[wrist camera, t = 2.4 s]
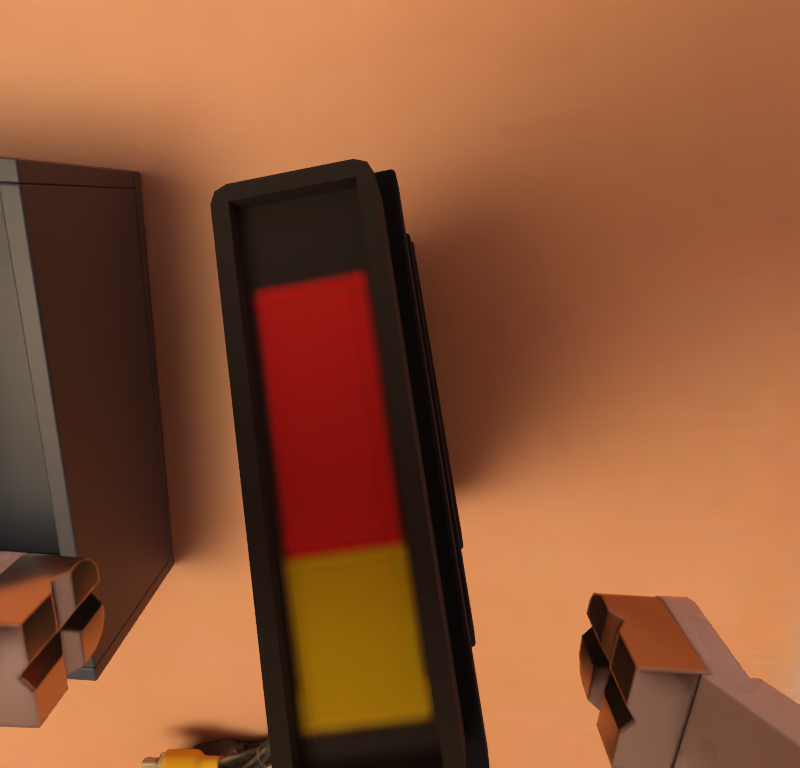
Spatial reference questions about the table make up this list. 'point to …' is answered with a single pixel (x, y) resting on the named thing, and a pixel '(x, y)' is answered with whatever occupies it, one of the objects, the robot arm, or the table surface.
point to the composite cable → (215, 756)
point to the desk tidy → (81, 385)
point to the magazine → (345, 476)
